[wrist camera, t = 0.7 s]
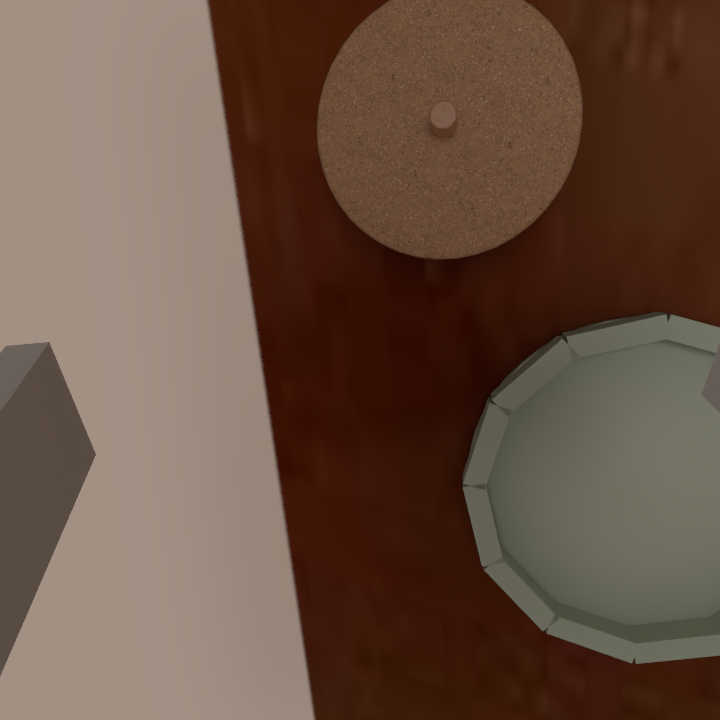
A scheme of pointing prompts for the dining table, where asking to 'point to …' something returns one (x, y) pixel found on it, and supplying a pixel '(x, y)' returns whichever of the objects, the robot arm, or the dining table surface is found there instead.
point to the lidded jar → (449, 124)
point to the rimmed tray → (606, 488)
